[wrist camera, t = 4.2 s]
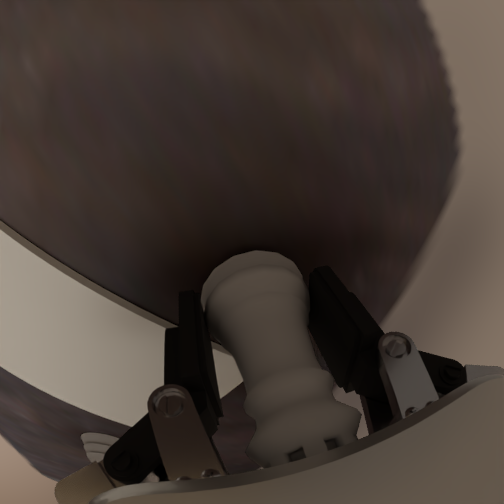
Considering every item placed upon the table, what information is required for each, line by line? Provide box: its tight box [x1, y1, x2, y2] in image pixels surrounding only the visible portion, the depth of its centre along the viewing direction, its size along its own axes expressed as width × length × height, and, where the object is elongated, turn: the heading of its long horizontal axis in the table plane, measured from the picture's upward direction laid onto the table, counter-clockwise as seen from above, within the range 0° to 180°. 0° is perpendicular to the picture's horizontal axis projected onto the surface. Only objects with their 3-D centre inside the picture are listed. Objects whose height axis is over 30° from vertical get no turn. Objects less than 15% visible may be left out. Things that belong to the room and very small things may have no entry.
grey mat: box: [0, 220, 243, 427], centre depth 13 cm, size 16×11×1 cm
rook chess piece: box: [201, 250, 362, 469], centre depth 9 cm, size 4×4×8 cm
